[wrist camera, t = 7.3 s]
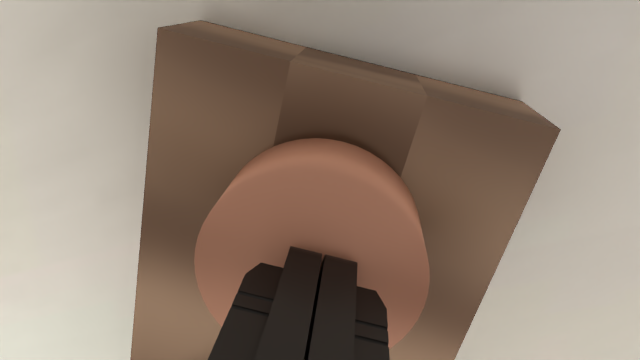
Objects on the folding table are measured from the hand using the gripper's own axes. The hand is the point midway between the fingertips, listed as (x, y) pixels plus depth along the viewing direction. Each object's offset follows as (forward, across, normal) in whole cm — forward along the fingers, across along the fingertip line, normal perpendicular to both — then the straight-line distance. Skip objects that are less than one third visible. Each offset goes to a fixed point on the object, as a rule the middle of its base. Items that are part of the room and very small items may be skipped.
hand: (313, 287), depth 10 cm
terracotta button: (+5, 0, 0) cm, 5 cm away
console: (+6, 0, +8) cm, 10 cm away
